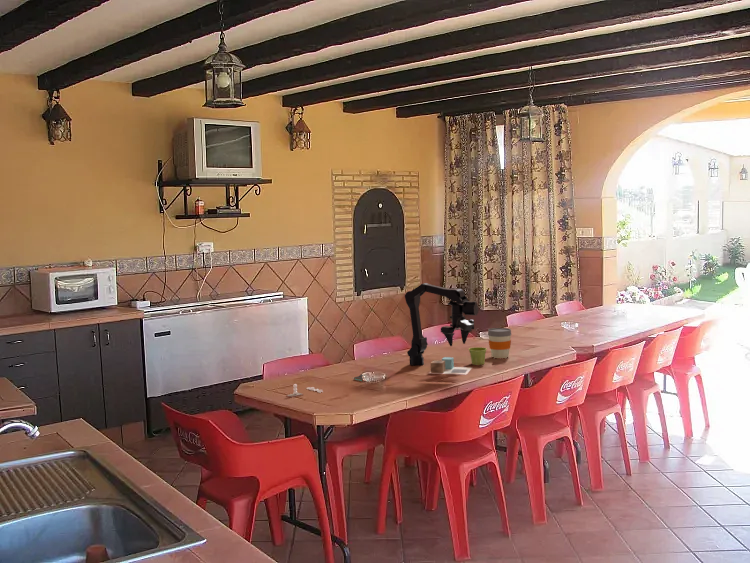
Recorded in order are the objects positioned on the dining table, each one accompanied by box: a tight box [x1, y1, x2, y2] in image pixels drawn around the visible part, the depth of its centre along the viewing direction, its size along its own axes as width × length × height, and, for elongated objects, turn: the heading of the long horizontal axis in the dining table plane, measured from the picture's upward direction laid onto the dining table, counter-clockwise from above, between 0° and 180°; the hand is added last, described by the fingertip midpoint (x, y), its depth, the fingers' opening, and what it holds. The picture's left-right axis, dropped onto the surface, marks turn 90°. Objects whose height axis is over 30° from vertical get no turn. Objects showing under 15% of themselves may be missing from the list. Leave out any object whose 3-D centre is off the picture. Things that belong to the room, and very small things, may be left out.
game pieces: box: [286, 374, 364, 399], centre depth 357 cm, size 45×13×6 cm, turn 129°
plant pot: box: [467, 346, 488, 366], centre depth 393 cm, size 9×9×9 cm
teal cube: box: [441, 356, 455, 369], centre depth 385 cm, size 5×5×5 cm
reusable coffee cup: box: [487, 327, 512, 359], centre depth 412 cm, size 13×13×15 cm
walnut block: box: [430, 359, 445, 374], centre depth 377 cm, size 6×6×5 cm
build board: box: [428, 366, 473, 376], centre depth 379 cm, size 19×16×1 cm
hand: (457, 344), depth 383 cm, fingers open, 9 cm apart
